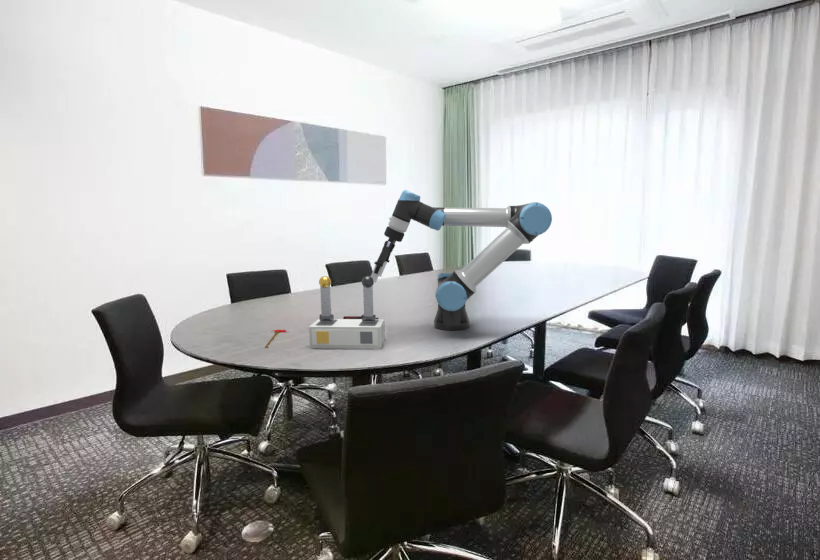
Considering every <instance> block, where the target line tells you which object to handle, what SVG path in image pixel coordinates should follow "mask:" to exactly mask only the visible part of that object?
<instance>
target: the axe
mask: <svg viewBox="0 0 820 560" xmlns="http://www.w3.org/2000/svg"><path fill="white" fill-rule="evenodd" d="M287 330H288V329H274V330H272V331H275V332H274V334H273V336H271V338H270V339H269V341H268V342H267V344H266V345H265V346H264V349H265V348H267V349H269V346H270V344H271V343H272V342H273V341H274V340H275V338H276V337H277V336H278V335H279V334H280V333H288V332H287ZM276 335H277V336H276ZM275 336H276V337H275ZM274 337H275V338H274ZM272 340H273V341H272ZM271 341H272V342H271ZM270 342H271V343H270ZM268 345H269V346H268Z"/></svg>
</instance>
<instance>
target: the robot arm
mask: <svg viewBox="0 0 820 560" xmlns="http://www.w3.org/2000/svg"><path fill="white" fill-rule="evenodd" d="M552 215H553V214H552V211H550V209H549V208H548V207H547V206H546V205H545V204H543V203H541V202H535V201H534V202H530V203H529V202H528V203H525V204H521V205H508V206H507V207H502V208H501V207H500V208H499V207H495V208H494V207H435V206H434V207H433V206H430V205H428V204H426V203H424V202H422V201H421V196H420V195H418V194H417V193H414V192H411V191H409V190H407V189H403V191H402V192H401V194H400V196H399V197H398V199H397V202H396V205H395V207H394V209H393V212H392V214H391V217H388V219H389V221H388V226H386V228H385V231H384V233H383V235H384V236H385V237H386V238H388V239H387V240H385V241H384V242H383V243H384V244H383V247H382V249H381V251H380V253H379V256H378V258H377V260H376V261H374V263H373V264H374V268H373V270H372V272H371V273H370V274H371V275H370V277H372V278H373V280H374V283H377V280H378V278H379V277H380V278H381V277H382V276H383V273H384V270H385V268H386V266H387V264H388V263H390V257H391V255H392V254H391V253H392V252H393V250H394V249H395V247H396V242H399V243H401V242H402V241H403V239H404V237H405V233H406V232H407V230H408V227H409V226H410V223H411V221H414V222H417V223H419V224H421V225H423V226H425V227H428V228H430V229H431V230H435V231H440V230H441V228H442V227H443V226H445V227H479V228H480V227H487V228H505V229H504V230H503V231H502V232H500V234H498V236H497V237H495V238H494V239H493V240H492V241H491V242H490V243H489V244H487V246H486V247H484V248H483V249H482V250H481V251H480V252H479V253H478V254H477V255H476V256H475V257H473V259H471V261H469V262H468V263H467V264H466V265H465V266H464V267H463V268H461V269H460V270H458V269H457V270H456V269H455V270H454V271H453V272H440V273H438V275H437V288H436V291H435V300H436V302H437V310H436V313H435V314H436V315H434V316H435V317H434V321H433V327H434V328H437V329H439V330H443V331H444V330H445V331H460V330H465V329H468V328H470V319H469V316H468V312H467V308H466V303H467V301H468V300H469V299H470V298H471V297H472V296H474V294H476V291H477V286H479V284H481V283H482V281H484V280H485V279H486V278H487V277H488V276H489V275H491V274H492V272H494V271H495V270H496V269H497V268H498V267H500V265H501V264H503V263H504V262H506V260H507V259H508V258H509V257H510V256H511V255H513V253H515V252H516V251H517V250H518V249H519V248H520V247H521V246H522V245H528V244H529V245H530V243H531V242H533V241H534V240H535V239H536V238H537V237H538V236H540V235H543V234H545V233H546V232H547V231H548V230H549V229H550V227H551V225H552V222H553V217H552Z"/></svg>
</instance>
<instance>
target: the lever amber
mask: <svg viewBox="0 0 820 560" xmlns="http://www.w3.org/2000/svg"><path fill="white" fill-rule="evenodd" d="M318 284H319V287H320V288H319V289H320V309H321V310H320V311H321V314H319V318H318V319H320V321H333V320H334V319H335V318H334V317H335V315H334V314H332V304H331V303H332V299H331V284H332V279H331V278H330V277H329V276H327V275H323V276H321V277H320V278H319V279H318Z"/></svg>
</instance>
